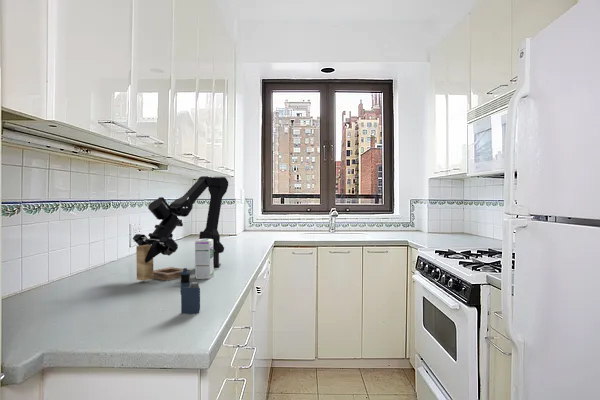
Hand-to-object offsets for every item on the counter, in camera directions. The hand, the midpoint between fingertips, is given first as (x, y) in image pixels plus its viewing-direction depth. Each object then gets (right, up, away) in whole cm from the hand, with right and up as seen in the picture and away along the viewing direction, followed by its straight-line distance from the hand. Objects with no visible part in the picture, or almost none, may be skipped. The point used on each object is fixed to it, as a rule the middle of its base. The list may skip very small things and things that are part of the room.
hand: (141, 261), depth 143 cm
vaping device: (+27, -9, -34) cm, 45 cm away
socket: (+6, -7, +11) cm, 15 cm away
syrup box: (+20, -8, +10) cm, 24 cm away
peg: (+1, -7, +1) cm, 7 cm away
